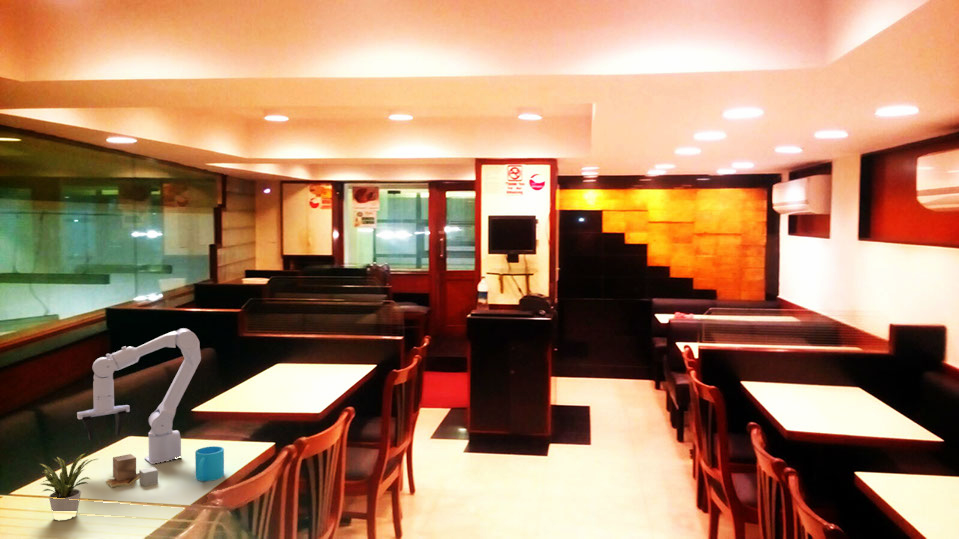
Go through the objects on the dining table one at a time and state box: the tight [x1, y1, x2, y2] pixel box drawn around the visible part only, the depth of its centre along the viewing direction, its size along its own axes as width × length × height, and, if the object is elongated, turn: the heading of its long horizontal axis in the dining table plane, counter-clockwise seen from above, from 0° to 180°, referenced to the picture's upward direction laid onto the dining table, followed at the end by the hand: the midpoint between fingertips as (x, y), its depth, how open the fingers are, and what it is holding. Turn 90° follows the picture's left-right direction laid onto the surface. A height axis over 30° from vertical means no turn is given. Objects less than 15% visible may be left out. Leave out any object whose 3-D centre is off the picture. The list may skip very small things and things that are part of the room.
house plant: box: [40, 453, 98, 512], centre depth 173 cm, size 14×14×16 cm
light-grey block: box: [138, 466, 159, 487], centre depth 197 cm, size 4×4×4 cm
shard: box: [105, 472, 139, 489], centre depth 198 cm, size 11×8×2 cm
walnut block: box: [112, 453, 137, 481], centre depth 199 cm, size 5×5×6 cm
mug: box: [195, 445, 225, 482], centre depth 201 cm, size 12×8×8 cm
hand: (104, 437), depth 209 cm, fingers open, 7 cm apart
